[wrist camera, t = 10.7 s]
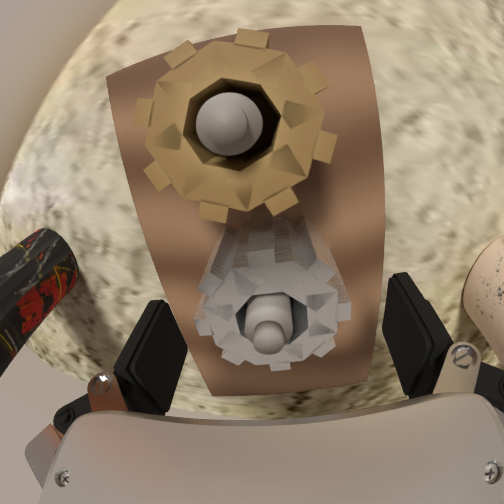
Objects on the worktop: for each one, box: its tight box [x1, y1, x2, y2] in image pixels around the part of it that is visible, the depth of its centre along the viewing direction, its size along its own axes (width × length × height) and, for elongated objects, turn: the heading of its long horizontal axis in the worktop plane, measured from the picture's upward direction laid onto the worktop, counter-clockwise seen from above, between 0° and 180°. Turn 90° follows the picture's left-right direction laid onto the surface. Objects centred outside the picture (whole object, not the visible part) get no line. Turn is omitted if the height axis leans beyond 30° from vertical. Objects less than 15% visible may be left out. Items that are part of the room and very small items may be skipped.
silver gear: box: [193, 208, 351, 371], centre depth 14 cm, size 7×7×5 cm
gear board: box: [106, 25, 385, 396], centre depth 14 cm, size 26×14×8 cm, turn 10°
